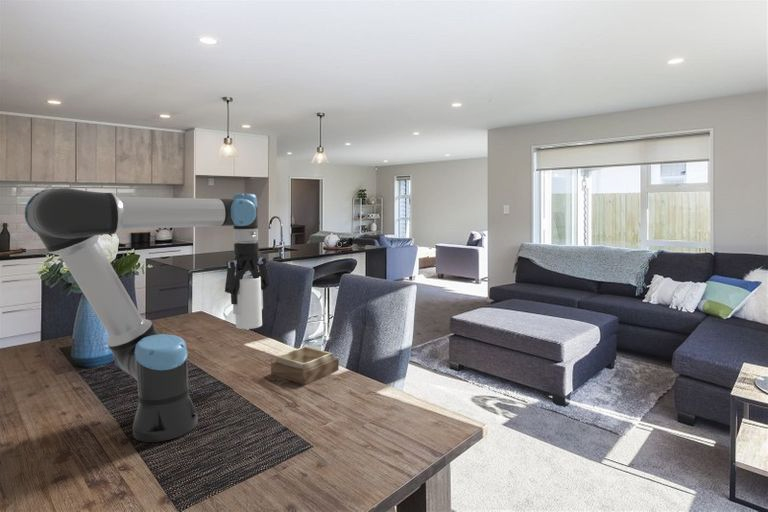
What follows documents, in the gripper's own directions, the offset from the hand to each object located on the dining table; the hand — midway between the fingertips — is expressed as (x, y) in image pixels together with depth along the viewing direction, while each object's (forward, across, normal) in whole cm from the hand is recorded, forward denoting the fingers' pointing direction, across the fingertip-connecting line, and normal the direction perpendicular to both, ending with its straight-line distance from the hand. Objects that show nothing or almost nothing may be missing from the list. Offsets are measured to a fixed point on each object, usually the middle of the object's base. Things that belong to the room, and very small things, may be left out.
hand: (248, 311), depth 146 cm
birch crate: (+22, +13, -12) cm, 28 cm away
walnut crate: (+23, +13, -12) cm, 29 cm away
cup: (+5, 0, 0) cm, 5 cm away
